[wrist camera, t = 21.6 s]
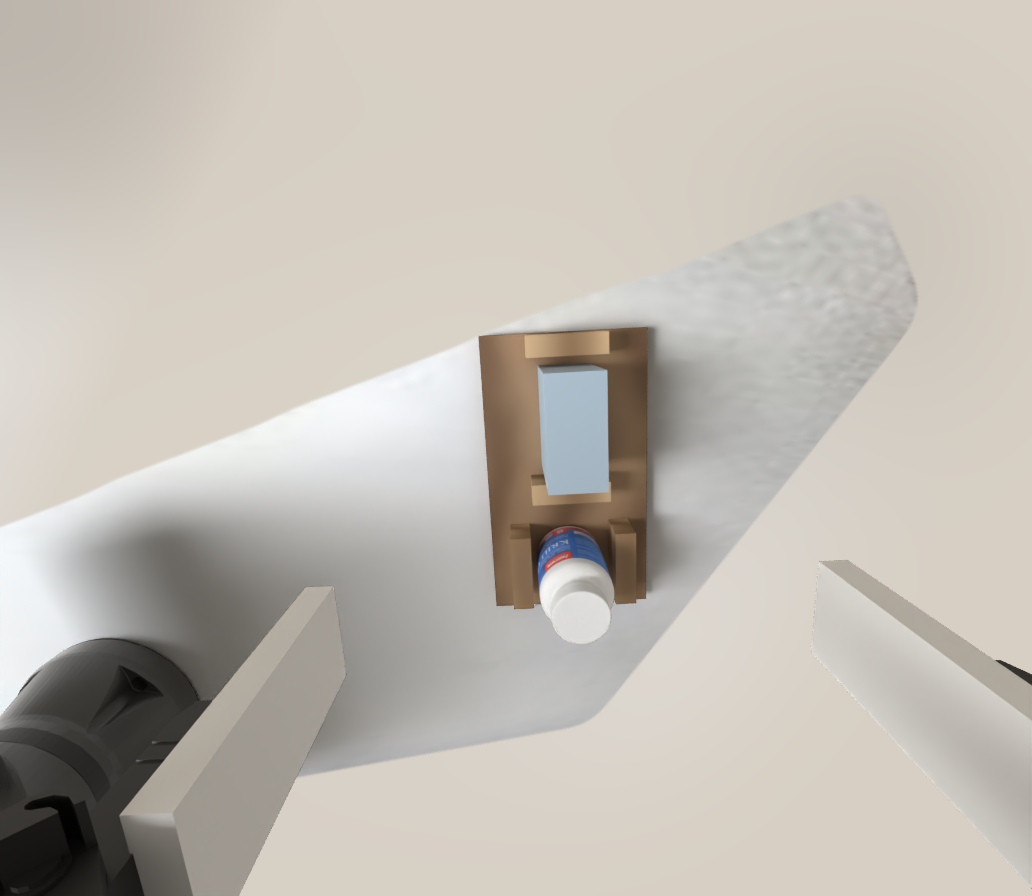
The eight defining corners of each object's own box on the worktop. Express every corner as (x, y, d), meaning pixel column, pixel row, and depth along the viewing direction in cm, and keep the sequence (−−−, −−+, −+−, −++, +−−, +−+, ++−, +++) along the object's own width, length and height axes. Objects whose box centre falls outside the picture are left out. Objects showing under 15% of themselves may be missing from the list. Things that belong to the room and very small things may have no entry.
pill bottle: (558, 512, 42) (571, 565, 33) (611, 544, 43) (639, 604, 33) (523, 564, 43) (526, 629, 34) (576, 594, 44) (593, 666, 34)
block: (541, 464, 41) (548, 495, 33) (537, 365, 39) (543, 373, 32) (590, 461, 41) (608, 492, 33) (588, 362, 39) (607, 370, 32)
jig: (497, 598, 45) (495, 626, 41) (479, 336, 40) (475, 336, 36) (642, 591, 45) (655, 618, 41) (643, 327, 40) (659, 326, 36)
